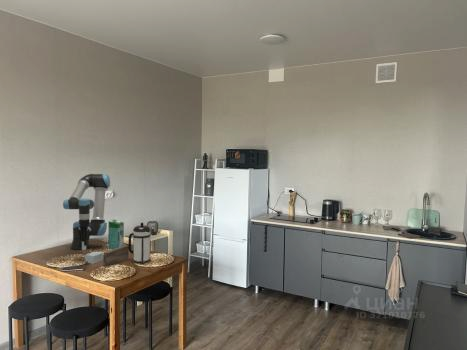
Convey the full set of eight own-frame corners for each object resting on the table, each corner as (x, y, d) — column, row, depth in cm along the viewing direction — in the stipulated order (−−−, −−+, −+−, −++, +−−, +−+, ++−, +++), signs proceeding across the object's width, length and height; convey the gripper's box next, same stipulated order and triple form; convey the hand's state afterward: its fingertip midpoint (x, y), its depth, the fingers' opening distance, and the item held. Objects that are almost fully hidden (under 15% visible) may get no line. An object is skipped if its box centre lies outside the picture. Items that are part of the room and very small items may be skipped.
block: (85, 262, 261) (85, 254, 260) (95, 259, 270) (95, 251, 270) (93, 264, 258) (93, 256, 257) (103, 260, 267) (103, 252, 266)
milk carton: (118, 251, 291) (118, 221, 289) (108, 250, 293) (108, 221, 291) (123, 248, 300) (123, 219, 298) (114, 247, 302) (114, 219, 300)
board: (103, 266, 254) (103, 252, 253) (124, 258, 274) (124, 245, 273) (107, 266, 252) (107, 253, 251) (128, 258, 272) (128, 246, 271)
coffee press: (151, 257, 276) (151, 220, 274) (152, 264, 261) (152, 224, 259) (128, 258, 272) (128, 220, 270) (127, 265, 256) (128, 224, 255)
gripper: (73, 218, 265) (73, 249, 266) (86, 220, 260) (86, 251, 261) (81, 217, 272) (81, 247, 273) (94, 219, 267) (94, 249, 268)
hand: (84, 249), depth 267 cm, fingers closed
